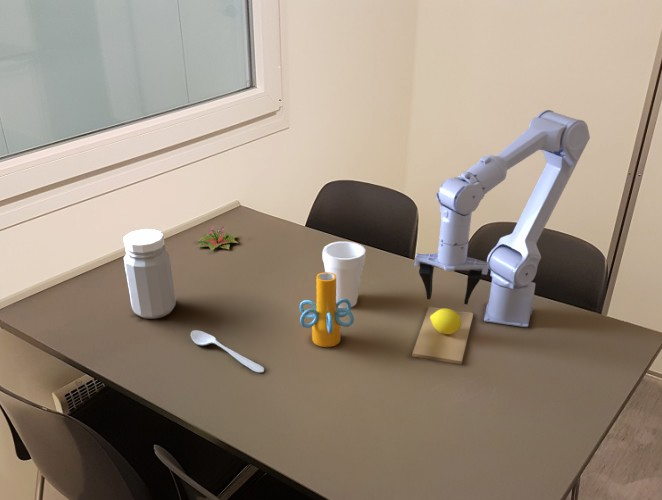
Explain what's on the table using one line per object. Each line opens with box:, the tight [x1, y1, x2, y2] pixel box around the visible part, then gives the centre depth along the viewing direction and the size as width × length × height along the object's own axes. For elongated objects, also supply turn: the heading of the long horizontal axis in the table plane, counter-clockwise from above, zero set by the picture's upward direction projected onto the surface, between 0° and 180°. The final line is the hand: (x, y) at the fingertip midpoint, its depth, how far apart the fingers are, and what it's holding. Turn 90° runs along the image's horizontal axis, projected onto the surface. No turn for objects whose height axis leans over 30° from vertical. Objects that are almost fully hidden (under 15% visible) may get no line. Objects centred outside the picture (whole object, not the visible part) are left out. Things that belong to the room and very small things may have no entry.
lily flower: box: [196, 225, 239, 252], centre depth 187 cm, size 12×12×5 cm
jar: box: [123, 228, 177, 320], centre depth 153 cm, size 10×10×18 cm
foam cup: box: [322, 241, 367, 309], centre depth 158 cm, size 10×9×13 cm
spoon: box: [190, 329, 265, 374], centre depth 142 cm, size 4×21×2 cm, turn 50°
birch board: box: [411, 306, 474, 365], centre depth 148 cm, size 10×20×1 cm, turn 163°
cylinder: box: [299, 271, 355, 348], centre depth 143 cm, size 12×10×15 cm
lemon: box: [430, 307, 461, 334], centre depth 147 cm, size 7×5×5 cm
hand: (447, 299), depth 145 cm, fingers open, 7 cm apart
